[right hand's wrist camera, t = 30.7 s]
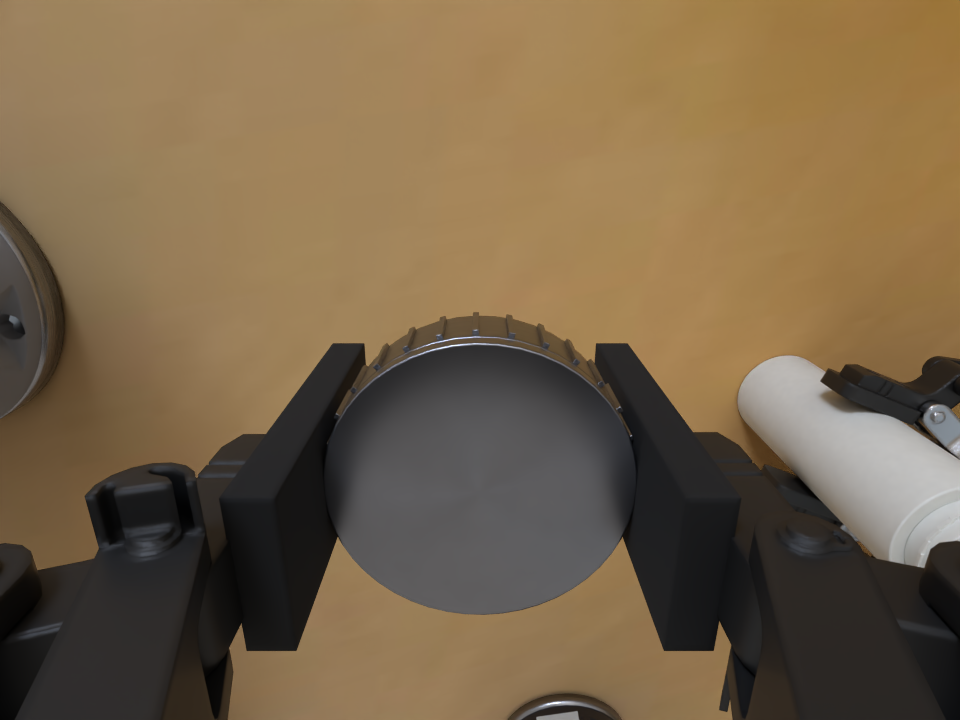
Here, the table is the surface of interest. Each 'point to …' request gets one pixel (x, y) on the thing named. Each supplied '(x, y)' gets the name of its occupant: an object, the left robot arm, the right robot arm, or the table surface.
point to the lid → (480, 466)
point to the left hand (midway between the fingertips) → (800, 433)
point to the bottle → (856, 460)
